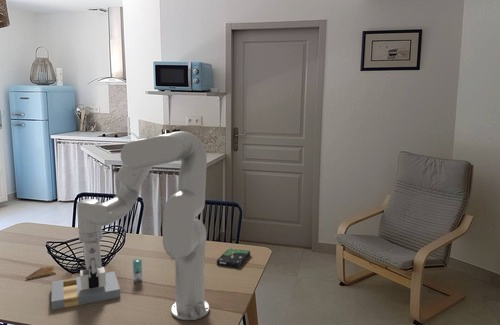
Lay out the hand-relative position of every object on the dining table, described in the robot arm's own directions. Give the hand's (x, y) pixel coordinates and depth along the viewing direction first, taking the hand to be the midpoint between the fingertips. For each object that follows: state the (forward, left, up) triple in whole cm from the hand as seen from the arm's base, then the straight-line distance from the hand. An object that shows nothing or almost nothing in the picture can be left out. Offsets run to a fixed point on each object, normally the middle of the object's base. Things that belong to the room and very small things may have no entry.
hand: (93, 283), depth 145 cm
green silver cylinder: (+7, -17, -5) cm, 19 cm away
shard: (+27, +16, -6) cm, 32 cm away
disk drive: (+10, -58, -6) cm, 59 cm away
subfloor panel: (+4, +2, -5) cm, 7 cm away
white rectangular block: (0, 0, 0) cm, 0 cm away
